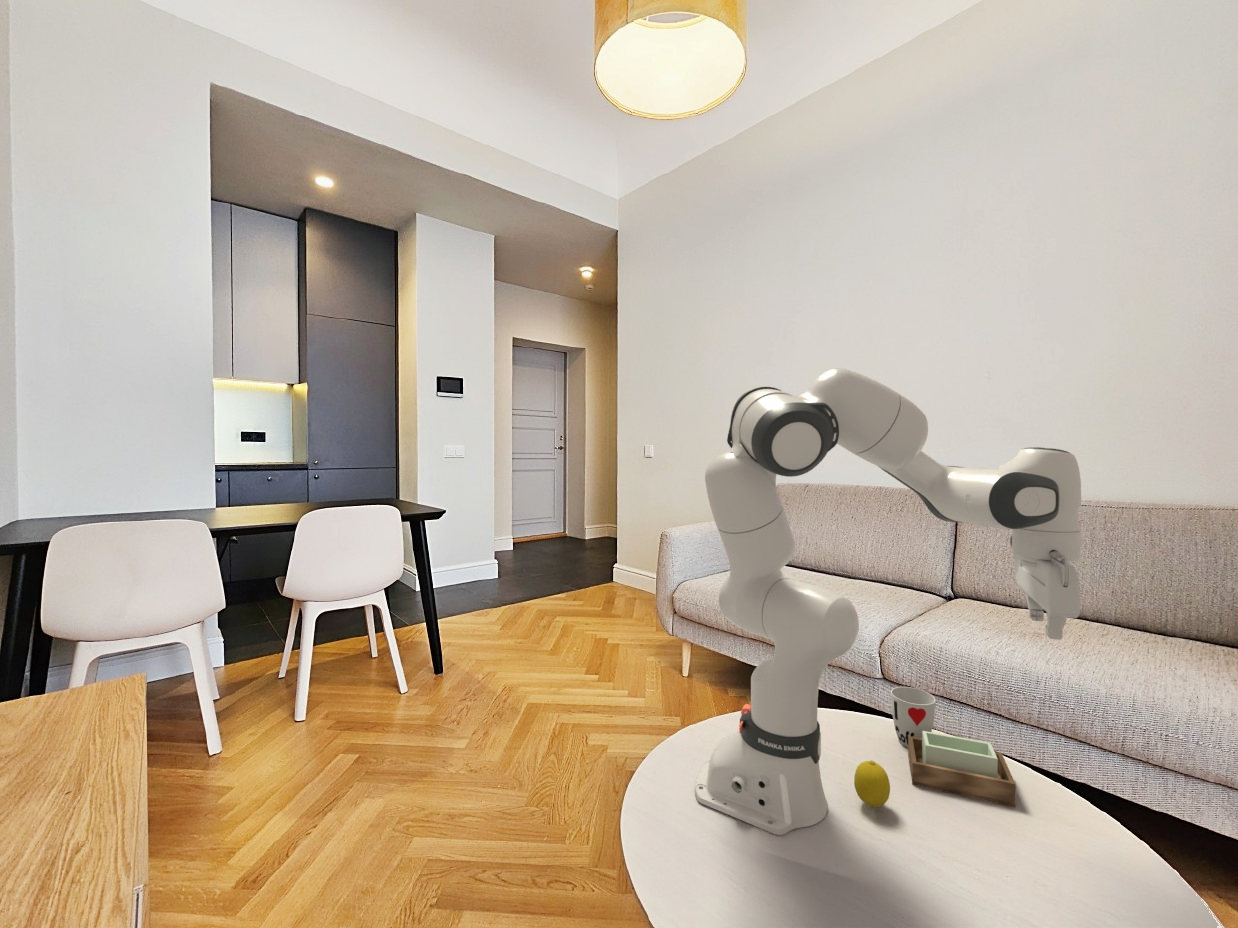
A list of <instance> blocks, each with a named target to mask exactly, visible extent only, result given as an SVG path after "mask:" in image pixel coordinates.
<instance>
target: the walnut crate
mask: <svg viewBox="0 0 1238 928" xmlns="http://www.w3.org/2000/svg"><path fill="white" fill-rule="evenodd" d="M907 749H908V750H907V756H908V764H909V771H910V777H911V784H912V785H913V786H917V787H922V788H927V789H931V790H936V791H939V792H944V793H949V794H954V795H959V796H963V797H967V798H971V799H976V800H981V801H985V802H989V803H993V804H999V805H1005V806H1007V807H1012V808H1013V807H1014V808H1016V791H1017V789H1016V788H1017V787H1016V782H1015V780H1014V777H1013V776H1012V774H1011V771H1010V769H1009V767H1008V764H1007V762H1006V760H1005V758H1004V755H1003V753H1002V752H997V751H994V752H995V754H996V756H997V758H998V778H993V777H988V776H984V775H979V774H974V773H969V772H964V771H959V770H954V769H949V768H944V767H940V766H935V765H930V764H925V763H923V762H922V738H917V737H912V736H908V747H907Z"/></svg>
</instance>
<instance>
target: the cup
mask: <svg viewBox="0 0 1238 928" xmlns="http://www.w3.org/2000/svg"><path fill="white" fill-rule="evenodd" d="M890 701H891V702H890V703H891V712H892V713H891V714H892V718H893V719H892V720H893V725H894V730H895V732H896V735H897V739H898V742H899V743H900V744H901V745H902V746H904V747H905V748H906V747H907V748H908V736H912V737H917V738H922V731H927V732H933V726H934V722H935V714H936V713H935V712H936V711H935V709H936V702H937V701H936V697H935V696H934V695H933V694H931V693H929V692H927V691H926V690H922V689H920V688H915V687H909V686H897V687H893V688H892V689H891V690H890Z"/></svg>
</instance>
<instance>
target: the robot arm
mask: <svg viewBox="0 0 1238 928" xmlns="http://www.w3.org/2000/svg"><path fill="white" fill-rule="evenodd" d="M928 434H929V423H928V419H927V416H926V414H925V413H924V412H923V411H922V410H921V409H920V408H919V407H918V406H917V405H916V404H915V403H914V402H912V401H911V400H909V399H908V398H907V397H905V396H903V395H902V394H900V393H899V392H897V391H895V390H893V389H892V388H890V387H888V385H887V386H886V385H885V384H884V383H881V382H879V381H877V380H875V379H872V378H870V377H868V376H865V375H863V374H860V373H858V372H856V371H852V370H850V369H847V368H841V367H839V368H831V369H829V370H826V371H824V372H823V373H822V374H820V375H818V376H817V377H816V378H815V379H814V380H813V381H812V383H811V384H810V385H809V387H808V388H807V390H805V391H804V392H803V393H801V394H799V395H798V394H797V395H796V396H795V395H793V394H790V393H789V392H785V391H782V390H781V389H779V388H776V387H772V386H758V387H755V388H754V387H753V388H751V389H749V390H747V391H745V392H744V393H743V394H741V395H740V397H738V399H737V400H736V402H735V404H734V405H733V408H732V411H731V416H730V424H729V428H728V433H727V438H726V442H727V445H728V446H729V448H731V449H730V450H728V451H725V452H724V453H721V454H720V455H717V456H716V457H715V458H714V459H713V460H712V461H711V462H710V463H709V464H708V465H707V468H706V471H705V472H704V473H705V475H704V481H705V488H706V492H707V499H708V503H709V506H710V509H711V510H710V511H711V513H712V516H713V519H714V523H715V525H716V528H717V531H718V534H719V535H720V538H721V541H722V543H723V546H724V550H725V553H726V555H727V559H728V562H729V568H730V571H729V572H730V574H729V575H728V576H727V577H726V578H725V580H724V581H723V582H722V585H721V587H720V589H719V593H718V604H719V605H718V606H719V609H720V612H721V614H722V616H723V617H724V618H725V619H726V620H728V621H730V623H732V624H733V625H735V626H737V627H738V628H740V629H741V630H742V631H744V632H747V633H750V634H753V635H756V636H759V637H761V638H765V639H767V640H769V641H773V643H774V649H775V650H774V656H773V658H770V659H767V660H765V661H762V662H761V663H760V664H758V665H757V666H756V667H755V668H754V670H753V672H752V674H751V677H750V704H749V703H746V704H744V705H743V706H742V709H741V711H740V715H741V716H740V718H739V724H738V727H739V728H738V731H736V732H735V733H732V734H730V735H729V736H726V737H724V738H722V739H721V740H720V741H719V742H718V743H717V744H716V746H715V748H714V749H713V751H712V754H711V755H710V759H709V760H708V761H707V762H706V763H704V765H702V767H701V769H700V771H699V772H698V774H697V777H696V780H695V785H694V786H695V787H694V794H695V798H696V800H697V802H699V803H700V804H702V805H704V806H707V807H708V808H711V809H714V810H717V812H720V813H723V814H725V815H728V816H731V817H733V818H736V819H737V820H740V821H743V822H745V823H747V824H749V825H751V826H755V827H757V828H759V829H761V830H764V831H766V832H769V833H771V834H773V835H776V836H783V835H784V834H788V833H789V832H790V831H793V830H794V829H798V828H805V827H810V826H814V825H816V824H818V823H819V822H821V821H822V820H823V819H824V818H825V817H826V815H827V813H828V810H829V805H828V802H827V798H826V795H825V790H824V787H823V782H822V776H821V769H820V758H821V755H822V754H821V753H822V749H821V747H822V736H821V735H822V733H821V726H820V723H819V720H818V706H819V705H818V703H819V702H818V701H819V699H818V698H819V687H820V681H821V678H822V675H823V673H824V671H825V669H826V667H827V666H828V665H829V664H830V663H831V662H832V661H834V660H835V659H837V658H840V657H842V656H843V655H845V654H846V653H847V652H848V651H850V650H851V648H852V647H853V645H854V644H855V642H856V640H857V637H858V635H859V631H860V630H859V629H860V624H859V616H858V613H857V610H856V608H855V606H854V605H853V603H852V601H851V600H850V599H849V598H847V597H846V596H845V597H844V596H843V595H841V594H839V593H837V592H835V591H833V590H831V589H828V588H826V587H824V586H820V585H816V584H812V583H808V582H803V581H801V580H795V579H791V578H789V577H787V576H786V575H785V574H784V573H783V572H782V569H783V568H784V567H785V566H786V565H788V563H789V562H790V560H791V558H792V557H793V554H794V552H795V546H796V543H795V541H796V540H795V538H794V536H793V533H792V530H791V527H790V524H789V520H788V518H787V514H786V511H785V509H784V506H783V503H782V500H781V498H780V495H779V492H778V490H777V489H778V488H777V483H776V481H777V476H782V477H788V478H790V477H791V478H794V477H799V476H802V475H804V474H807V473H809V472H810V471H812V470H813V469H815V468H816V467H817V466H818V465H819V464H820V463H821V462H822V461H823V460H824V458H825V457H826V456H827V454H828V452H830V451H831V450H832V449H833V448H835V447H836V445H838V446H840V447H842V448H843V449H845V450H847V451H849V452H850V453H852V454H853V455H855V456H857V457H859V458H861V459H862V460H865V461H867V462H869V463H870V464H873V465H874V466H877V468H879V469H881V470H882V471H883V472H885V473H887V474H888V475H890V477H892V478H894V479H895V480H896V481H899V483H901V484H903V485H904V486H906V487H907V488H908V489H910V490H911V491H913V493H914V494H916V495H918V497H919V498H920V499H921V500H922V502H923V503H924V505H925V506H926V508H927V509H928V510H929V512H930V513H931V514H932V515H933V516H935V517H936V518H937V519H939V520H941V521H945V522H948V523H963V524H964V523H966V524H971V525H977V526H981V527H990V528H997V529H1003V530H1011V531H1012V534H1011V535H1010V536H1009V545H1010V548H1011V553H1012V554H1013V566H1014V575H1015V582H1016V584H1017V586H1018V587H1019V588H1020V589H1021V590H1022V591H1023V592H1024V593H1025V599H1026V602H1027V607H1028V618H1030V619H1031V621H1034V622H1043V621H1044V618H1045V617H1044V613H1045V612H1046V617H1047V623H1046V624H1045V635H1046V636H1047V637H1048V638H1049V639H1051V640H1059V641H1060V640H1062V639H1063V635H1064V633H1063V631H1064V630H1063V629H1064V627H1065V625H1066V622H1067V619H1068V618H1070V619H1077V618H1078V617H1079V616H1080V613H1081V592H1080V580H1079V575H1078V571H1077V569H1076V568H1075V567H1074V566H1072V565H1071V562H1073V561H1079V560H1081V545H1082V543H1081V541H1082V540H1081V539H1082V538H1081V536H1082V533H1081V532H1082V528H1081V524H1080V521H1079V517H1078V515H1079V510H1080V508H1081V505H1082V483H1081V482H1082V480H1081V472H1080V468H1079V463H1078V461H1077V457H1076V456H1075V455H1074V454H1073V453H1070V451H1067V450H1064V449H1060V448H1059V449H1058V448H1050V447H1041V446H1040V447H1039V446H1037V447H1035V446H1034V447H1032V446H1030V447H1024V448H1021V449H1019V450H1018V452H1017V454H1016V456H1015V457H1014V458H1012V459H1011V460H1009V461H1007V462H1006V463H1004V464H1001V465H999V466H996V467H995V468H982V467H981V468H980V467H979V468H977V467H964V466H957V465H956V466H955V465H944V464H941V463H939V462H937V461H936V460H934V459H933V458H931V456H929V455H927V454H926V453H925V452H923V451H922V450H923V448H924V446H925V444H926V442H927V438H928ZM1044 611H1045V612H1044Z"/></svg>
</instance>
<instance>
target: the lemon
mask: <svg viewBox="0 0 1238 928" xmlns="http://www.w3.org/2000/svg"><path fill="white" fill-rule="evenodd" d="M853 779H854V782H853V783H854V789H855V793H856V795H857V796H858V797H859V800H861V802H862V803H864V804H866V805H868V806H869V807H870V808H871V809H874V808H879V807H882V806H884V805H885V804H886V803H887V801H889V797H890V795H891V794H890V793H891V783H890V779H889V776H888V774H887V772H886V770H885V769H884V767H883V766H881V765H880V764H879V763H877V762H875V761H874V760H866V761H862V762H861V763H859V764H858V766H857V767H856V769H855V773H854V778H853Z"/></svg>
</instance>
